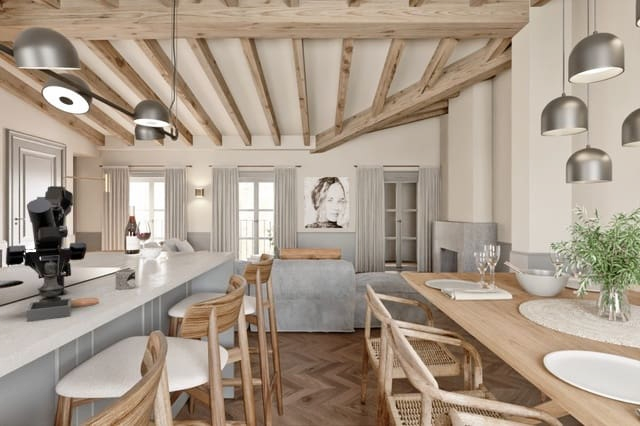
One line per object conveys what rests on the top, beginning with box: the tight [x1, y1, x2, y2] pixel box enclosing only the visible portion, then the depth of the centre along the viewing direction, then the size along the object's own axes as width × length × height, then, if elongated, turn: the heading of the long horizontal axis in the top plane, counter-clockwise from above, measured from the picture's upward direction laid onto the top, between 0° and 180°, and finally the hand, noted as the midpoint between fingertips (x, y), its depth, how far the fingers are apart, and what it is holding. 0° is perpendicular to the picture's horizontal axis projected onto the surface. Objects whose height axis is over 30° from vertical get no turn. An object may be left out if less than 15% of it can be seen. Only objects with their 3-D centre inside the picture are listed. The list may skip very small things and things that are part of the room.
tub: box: [26, 298, 72, 323], centre depth 104 cm, size 10×10×3 cm
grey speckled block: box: [115, 269, 136, 291], centre depth 141 cm, size 10×7×7 cm, turn 5°
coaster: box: [71, 297, 100, 308], centre depth 116 cm, size 8×8×1 cm
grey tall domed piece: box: [37, 259, 63, 302], centre depth 104 cm, size 6×6×12 cm
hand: (51, 276), depth 103 cm, fingers closed on grey tall domed piece, 4 cm apart
